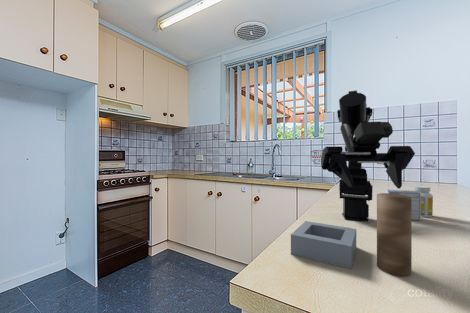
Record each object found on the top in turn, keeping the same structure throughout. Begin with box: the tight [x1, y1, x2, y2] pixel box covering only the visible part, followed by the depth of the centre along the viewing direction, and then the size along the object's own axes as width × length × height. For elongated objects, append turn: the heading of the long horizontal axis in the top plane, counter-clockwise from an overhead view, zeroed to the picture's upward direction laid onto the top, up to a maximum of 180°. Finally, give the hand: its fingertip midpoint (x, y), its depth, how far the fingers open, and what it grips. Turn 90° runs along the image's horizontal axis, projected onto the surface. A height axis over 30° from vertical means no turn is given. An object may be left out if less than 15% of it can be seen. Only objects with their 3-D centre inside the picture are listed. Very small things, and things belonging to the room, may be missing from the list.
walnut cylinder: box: [376, 192, 413, 278], centre depth 39 cm, size 5×5×13 cm
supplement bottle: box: [414, 185, 434, 218], centre depth 74 cm, size 5×5×10 cm
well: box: [290, 220, 357, 270], centre depth 47 cm, size 11×11×4 cm
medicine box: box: [387, 189, 422, 221], centre depth 71 cm, size 8×4×9 cm, turn 65°
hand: (375, 186), depth 47 cm, fingers open, 9 cm apart
